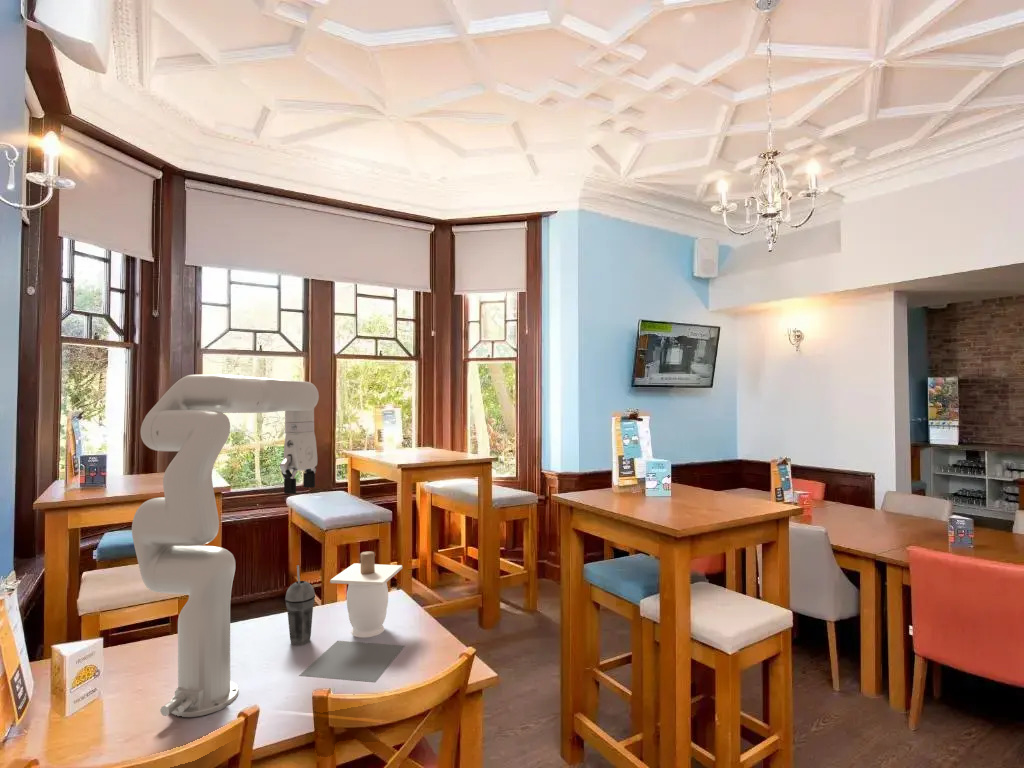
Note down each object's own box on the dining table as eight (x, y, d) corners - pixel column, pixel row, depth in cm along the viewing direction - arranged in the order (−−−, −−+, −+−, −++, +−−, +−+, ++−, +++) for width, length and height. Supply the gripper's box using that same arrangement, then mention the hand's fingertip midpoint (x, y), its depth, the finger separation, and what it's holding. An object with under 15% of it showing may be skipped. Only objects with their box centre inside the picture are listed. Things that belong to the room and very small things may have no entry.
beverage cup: (320, 637, 148) (320, 560, 149) (307, 650, 141) (307, 568, 141) (293, 636, 149) (293, 559, 149) (279, 649, 142) (279, 568, 142)
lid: (382, 585, 144) (382, 562, 144) (330, 583, 146) (330, 560, 146) (402, 568, 157) (402, 547, 157) (354, 566, 160) (354, 545, 160)
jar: (342, 641, 146) (342, 582, 146) (352, 624, 156) (351, 569, 157) (384, 640, 146) (384, 581, 147) (391, 624, 157) (391, 568, 157)
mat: (375, 684, 125) (375, 682, 125) (298, 677, 128) (298, 675, 128) (405, 647, 142) (405, 645, 142) (337, 642, 145) (337, 640, 145)
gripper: (295, 430, 150) (295, 496, 149) (327, 426, 167) (328, 485, 166) (268, 430, 151) (269, 495, 151) (304, 426, 168) (304, 485, 168)
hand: (300, 490), depth 159 cm, fingers open, 9 cm apart
